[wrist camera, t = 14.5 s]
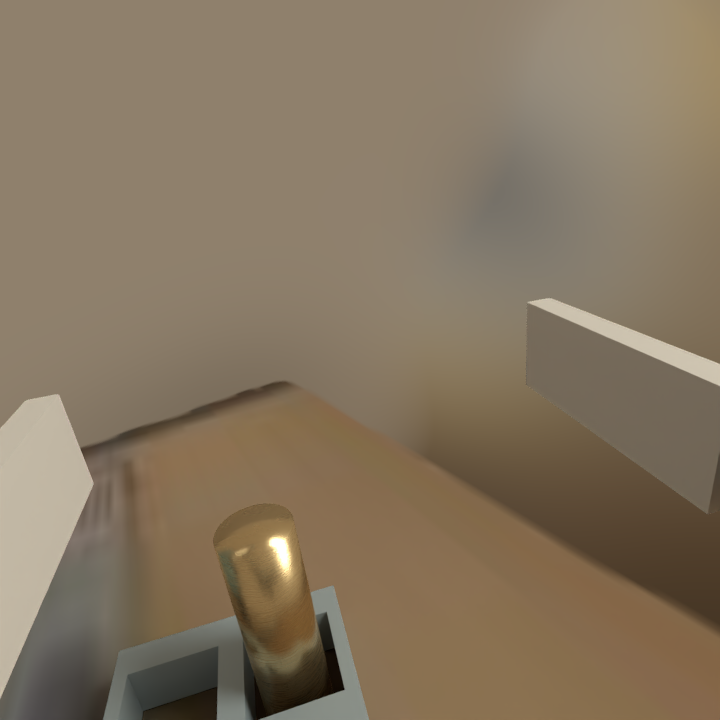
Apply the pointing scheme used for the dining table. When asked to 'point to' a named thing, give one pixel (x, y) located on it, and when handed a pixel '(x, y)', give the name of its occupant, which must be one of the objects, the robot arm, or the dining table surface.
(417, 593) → the dining table surface
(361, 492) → the dining table surface
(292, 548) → the gold metal cylinder
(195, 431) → the dining table surface
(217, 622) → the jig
